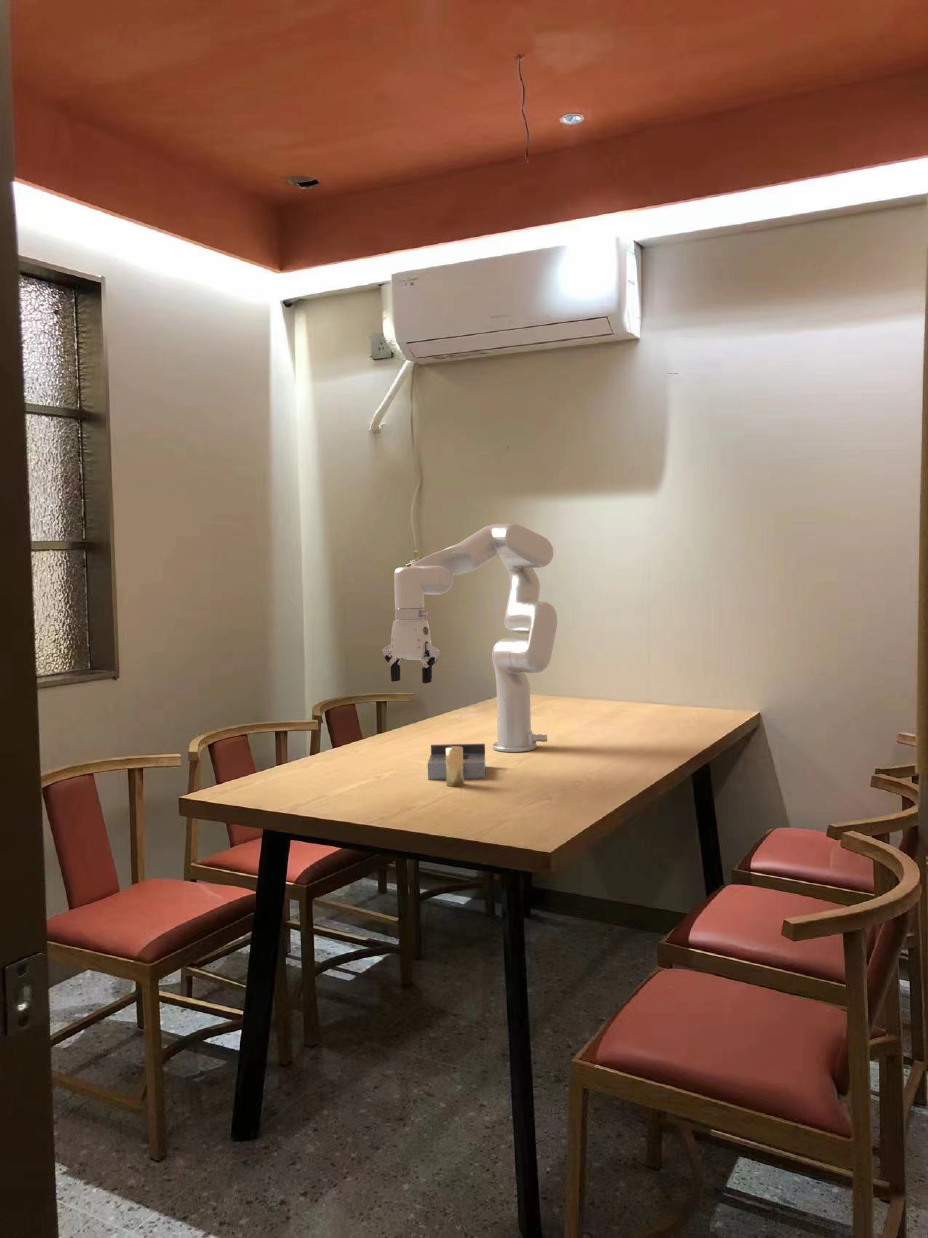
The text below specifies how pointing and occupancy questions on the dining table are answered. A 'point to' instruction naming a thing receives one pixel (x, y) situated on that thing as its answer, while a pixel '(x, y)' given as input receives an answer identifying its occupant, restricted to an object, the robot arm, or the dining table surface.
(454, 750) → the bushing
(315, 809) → the dining table surface
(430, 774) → the jig
